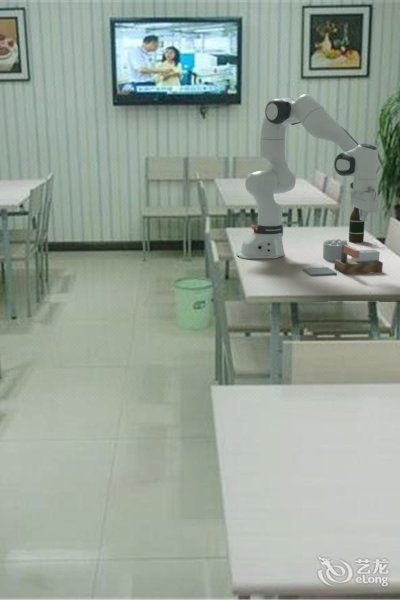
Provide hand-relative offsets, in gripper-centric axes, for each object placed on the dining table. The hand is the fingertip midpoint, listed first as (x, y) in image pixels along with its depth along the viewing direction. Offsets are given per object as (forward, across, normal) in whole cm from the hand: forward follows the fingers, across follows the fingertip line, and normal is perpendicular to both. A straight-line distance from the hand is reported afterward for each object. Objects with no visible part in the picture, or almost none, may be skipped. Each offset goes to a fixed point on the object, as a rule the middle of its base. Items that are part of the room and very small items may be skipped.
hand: (363, 220), depth 278 cm
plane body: (+22, +5, -1) cm, 22 cm away
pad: (+22, +4, +16) cm, 27 cm away
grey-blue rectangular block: (+18, +5, -4) cm, 19 cm away
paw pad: (+22, +29, 0) cm, 37 cm away
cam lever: (+18, -2, +5) cm, 19 cm away
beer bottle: (+23, +67, -25) cm, 75 cm away
